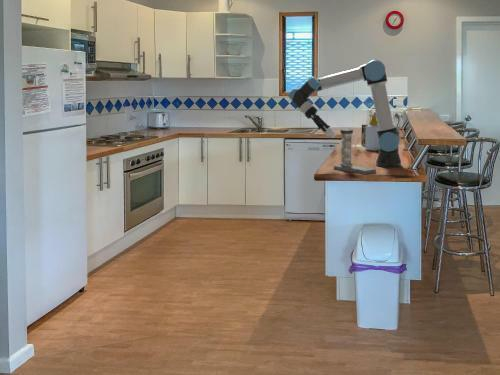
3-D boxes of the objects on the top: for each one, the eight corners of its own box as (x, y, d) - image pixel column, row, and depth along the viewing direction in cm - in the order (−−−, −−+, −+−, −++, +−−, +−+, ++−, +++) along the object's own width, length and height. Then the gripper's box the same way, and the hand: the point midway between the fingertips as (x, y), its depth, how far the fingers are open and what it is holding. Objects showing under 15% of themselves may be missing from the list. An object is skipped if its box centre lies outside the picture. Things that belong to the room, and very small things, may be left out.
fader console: (333, 169, 427) (333, 165, 427) (344, 167, 433) (344, 164, 432) (364, 174, 407) (364, 170, 406) (375, 172, 412) (376, 168, 411)
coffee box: (360, 145, 547) (361, 124, 544) (367, 145, 551) (367, 124, 548) (369, 146, 540) (369, 125, 537) (375, 146, 543) (375, 125, 540)
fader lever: (340, 165, 425) (340, 129, 422) (346, 164, 428) (346, 129, 425) (346, 166, 421) (346, 130, 418) (352, 165, 424) (352, 130, 421)
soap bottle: (370, 148, 526) (371, 114, 522) (381, 149, 521) (382, 115, 517) (364, 150, 520) (365, 115, 515) (375, 151, 514) (376, 115, 510)
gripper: (309, 116, 442) (332, 141, 438) (298, 113, 419) (322, 139, 414) (318, 107, 440) (341, 132, 436) (308, 104, 417) (332, 130, 412)
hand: (332, 136), depth 425 cm, fingers open, 13 cm apart
